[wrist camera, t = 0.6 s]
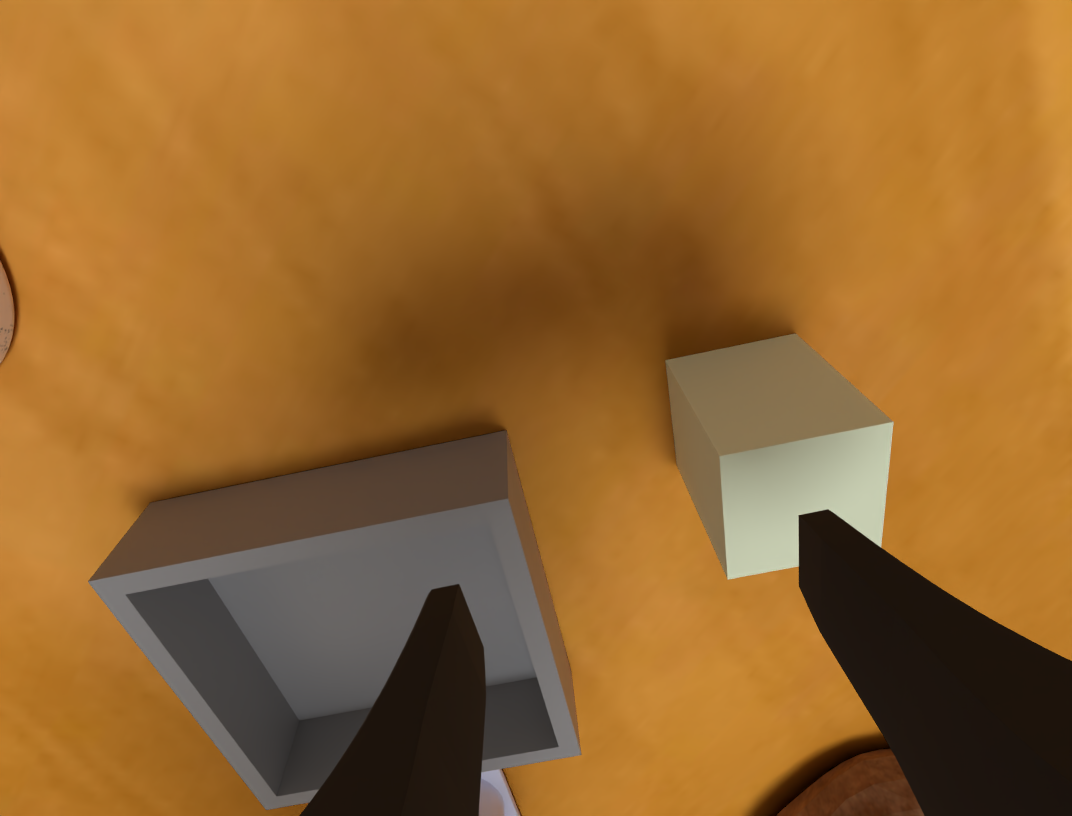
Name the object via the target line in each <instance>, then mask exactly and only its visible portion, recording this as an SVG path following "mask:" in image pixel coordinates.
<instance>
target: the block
mask: <svg viewBox="0 0 1072 816" xmlns="http://www.w3.org/2000/svg"><path fill="white" fill-rule="evenodd" d="M665 362H666V371H667V381H668V390H669V399H670V408H671V417H672V426H673V435H674V444H675V454H676V463H677V467H678V469H679V471H680V473H681V476H682V478H683V480H684V482H685V485H686V487H687V489H688V491H689V494H690V496H691V498H692V500H693V503H694V505H695V507H696V509H697V512H698V514H699V516H700V518H701V521H702V523H703V525H704V527H705V530H706V532H707V534H708V536H709V539H710V541H711V543H712V545H713V548H714V550H715V552H716V554H717V556H718V559H719V561H720V563H721V565H722V568H723V570H724V572H725V574H726V577H727V579H733V578H738V577H744V576H749V575H754V574H760V573H765V572H771V571H776V570H781V569H787V568H792V567H797V566H799V517H798V515H802V514H807V513H812V512H817V511H822V510H827V509H829V510H830V511H832V512H833V513H835V514H836V515H837V516H839V517H840V518H842V519H843V520H844V521H846V522H847V523H848V524H850V525H851V526H852V527H854V528H855V529H856V530H858V531H859V532H860V533H862V534H863V535H865V536H866V537H867V538H869V539H870V540H871V541H873V542H874V543H875V544H877V545H878V546H880V547H881V542H882V532H883V522H884V512H885V502H886V492H887V482H888V472H889V462H890V452H891V442H892V432H893V421H892V420H891V419H890V418H889V417H887V416H886V415H885V414H884V413H883V412H882V411H881V410H880V409H879V408H878V407H876V406H875V405H874V404H873V403H872V402H871V401H870V400H869V399H868V398H866V397H865V396H864V395H863V394H862V393H861V392H860V391H859V390H858V389H857V388H855V387H854V386H853V385H852V384H851V383H850V382H849V381H848V380H847V379H845V378H844V377H843V376H842V375H841V374H840V373H839V372H838V371H837V370H836V369H834V368H833V367H832V366H831V365H830V364H829V363H828V362H827V361H826V360H824V359H823V358H822V357H821V356H820V355H819V354H818V353H817V352H816V351H815V350H813V349H812V348H811V347H810V346H809V345H808V344H807V343H806V342H805V341H803V340H802V339H801V338H800V337H799V336H798V335H797V334H796V333H795V334H790V335H785V336H780V337H776V338H771V339H766V340H761V341H756V342H751V343H747V344H742V345H737V346H732V347H727V348H722V349H718V350H713V351H708V352H703V353H698V354H693V355H689V356H684V357H679V358H674V359H669V360H665Z"/></svg>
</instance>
